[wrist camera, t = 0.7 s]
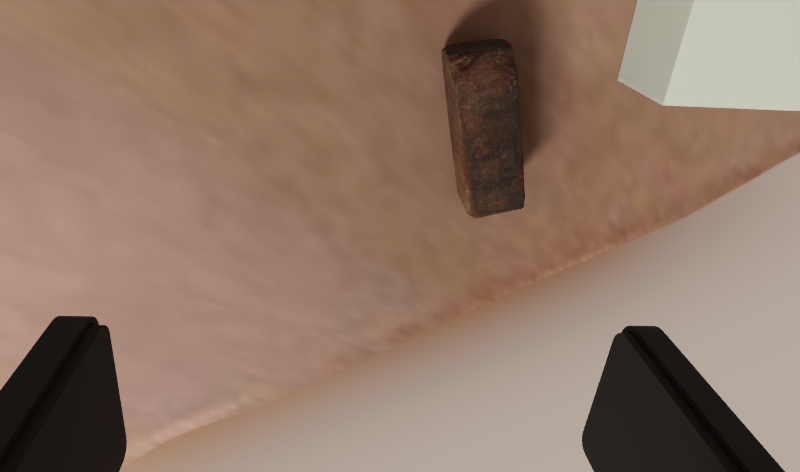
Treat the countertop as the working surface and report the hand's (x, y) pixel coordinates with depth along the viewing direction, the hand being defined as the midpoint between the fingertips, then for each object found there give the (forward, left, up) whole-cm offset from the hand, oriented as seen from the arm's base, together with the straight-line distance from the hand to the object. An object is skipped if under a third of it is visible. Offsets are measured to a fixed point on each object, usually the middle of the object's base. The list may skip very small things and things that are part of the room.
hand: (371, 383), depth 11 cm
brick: (+4, +10, -30) cm, 31 cm away
